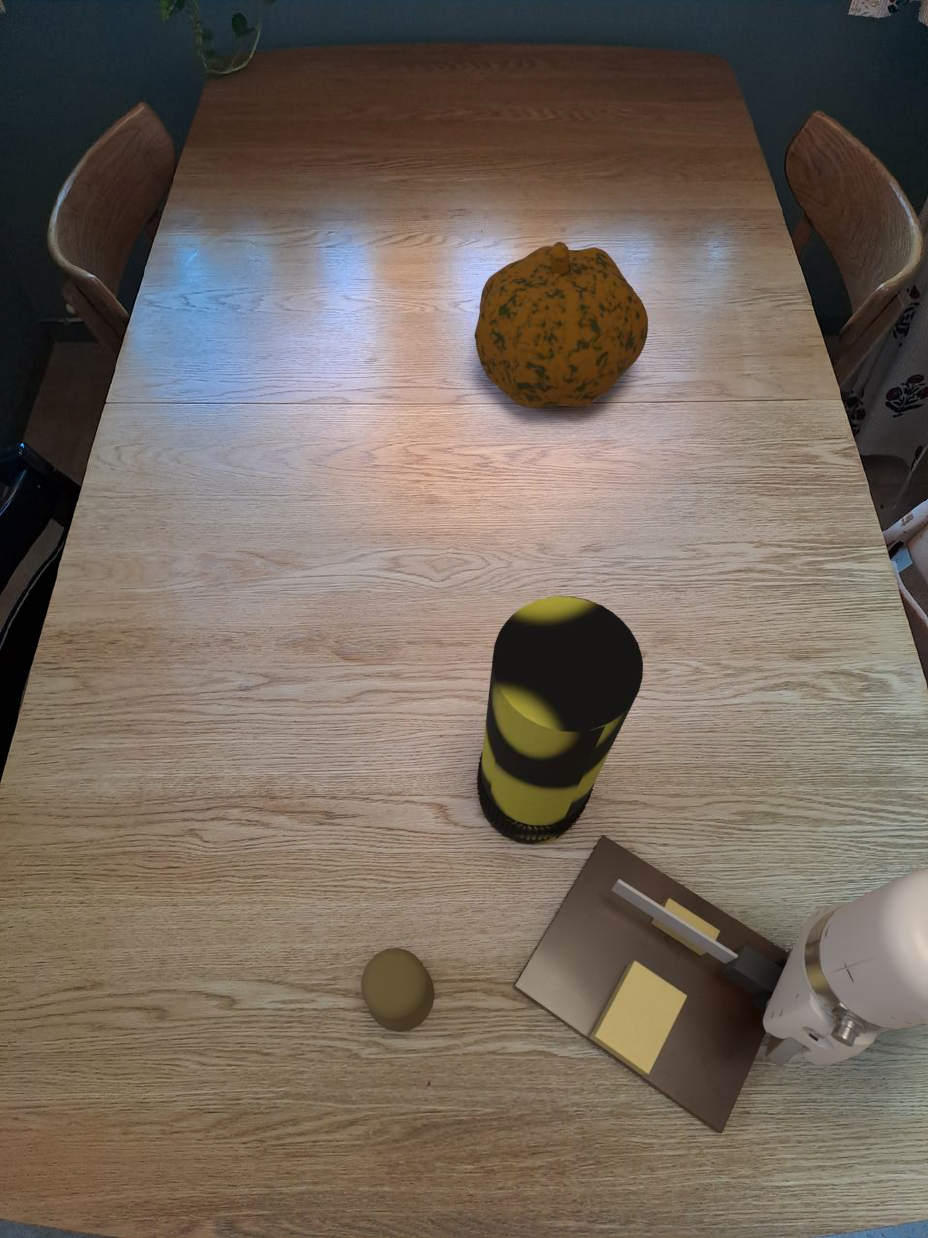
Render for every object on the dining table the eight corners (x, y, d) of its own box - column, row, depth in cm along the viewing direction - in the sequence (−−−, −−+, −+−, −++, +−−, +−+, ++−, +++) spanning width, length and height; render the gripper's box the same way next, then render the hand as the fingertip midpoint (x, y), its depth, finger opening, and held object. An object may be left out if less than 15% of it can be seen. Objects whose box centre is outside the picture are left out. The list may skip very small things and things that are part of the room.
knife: (831, 1015, 69) (850, 1011, 66) (821, 1040, 68) (840, 1037, 65) (617, 878, 75) (625, 867, 71) (605, 899, 74) (612, 890, 70)
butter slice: (710, 936, 76) (720, 931, 73) (700, 956, 75) (710, 951, 72) (661, 904, 77) (669, 897, 74) (651, 923, 76) (658, 917, 73)
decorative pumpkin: (643, 435, 105) (664, 299, 88) (475, 435, 107) (464, 302, 90) (636, 327, 115) (654, 187, 98) (484, 329, 117) (476, 191, 100)
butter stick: (678, 999, 73) (687, 995, 70) (640, 1075, 70) (648, 1074, 67) (627, 964, 74) (634, 960, 72) (589, 1038, 71) (594, 1036, 69)
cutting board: (792, 961, 76) (798, 959, 75) (716, 1133, 70) (721, 1134, 68) (600, 838, 81) (602, 834, 80) (512, 987, 75) (514, 986, 73)
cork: (375, 1041, 72) (363, 1035, 63) (359, 969, 75) (346, 952, 66) (442, 1019, 73) (441, 1010, 64) (424, 949, 76) (420, 929, 66)
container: (590, 752, 85) (653, 606, 59) (577, 857, 80) (640, 749, 54) (485, 733, 86) (502, 581, 60) (466, 836, 81) (475, 719, 55)
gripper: (881, 1125, 50) (780, 1116, 66) (965, 892, 56) (855, 936, 72) (762, 1046, 52) (693, 1056, 68) (857, 830, 58) (773, 887, 74)
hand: (777, 994), depth 70 cm, fingers closed on knife, 2 cm apart
